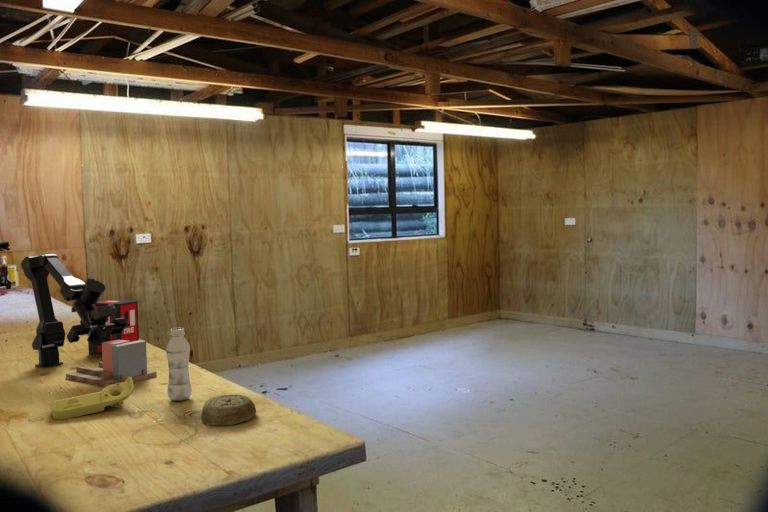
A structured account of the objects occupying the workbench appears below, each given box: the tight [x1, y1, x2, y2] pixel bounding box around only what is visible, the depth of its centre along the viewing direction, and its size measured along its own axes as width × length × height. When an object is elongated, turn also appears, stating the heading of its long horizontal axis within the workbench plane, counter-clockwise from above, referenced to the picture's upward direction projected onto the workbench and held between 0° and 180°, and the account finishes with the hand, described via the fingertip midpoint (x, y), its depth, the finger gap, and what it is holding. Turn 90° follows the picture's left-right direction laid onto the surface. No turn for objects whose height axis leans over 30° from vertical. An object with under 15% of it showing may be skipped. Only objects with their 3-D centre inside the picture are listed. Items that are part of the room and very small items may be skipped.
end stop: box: [112, 339, 148, 381], centre depth 190 cm, size 3×10×10 cm, turn 148°
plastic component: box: [49, 377, 135, 420], centre depth 161 cm, size 20×7×10 cm
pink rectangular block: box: [101, 339, 130, 373], centre depth 193 cm, size 6×6×10 cm
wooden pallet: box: [65, 361, 158, 388], centre depth 195 cm, size 24×16×3 cm, turn 58°
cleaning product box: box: [87, 299, 140, 356], centre depth 232 cm, size 16×9×20 cm, turn 68°
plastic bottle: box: [165, 327, 193, 402], centre depth 168 cm, size 6×7×20 cm
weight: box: [200, 394, 257, 427], centre depth 152 cm, size 14×13×5 cm
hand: (110, 349), depth 195 cm, fingers closed, pressing on pink rectangular block
